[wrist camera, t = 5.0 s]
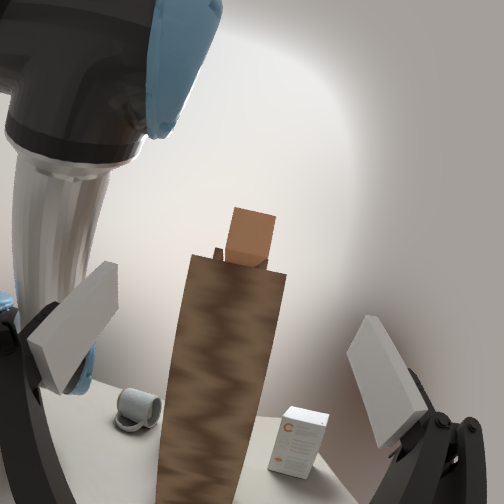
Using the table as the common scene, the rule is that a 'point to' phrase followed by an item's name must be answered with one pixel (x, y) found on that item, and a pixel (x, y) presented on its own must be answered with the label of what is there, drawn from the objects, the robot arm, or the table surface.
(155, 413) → the ceramic mug
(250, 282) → the post
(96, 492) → the table surface
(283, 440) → the small box
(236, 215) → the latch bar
